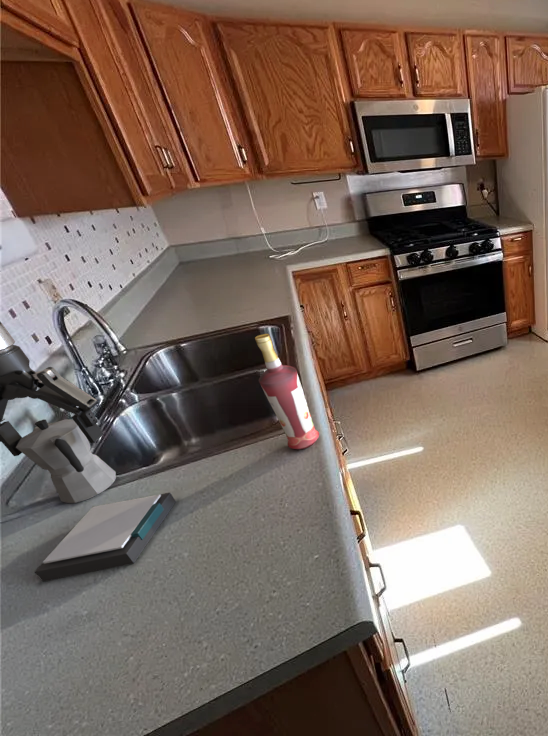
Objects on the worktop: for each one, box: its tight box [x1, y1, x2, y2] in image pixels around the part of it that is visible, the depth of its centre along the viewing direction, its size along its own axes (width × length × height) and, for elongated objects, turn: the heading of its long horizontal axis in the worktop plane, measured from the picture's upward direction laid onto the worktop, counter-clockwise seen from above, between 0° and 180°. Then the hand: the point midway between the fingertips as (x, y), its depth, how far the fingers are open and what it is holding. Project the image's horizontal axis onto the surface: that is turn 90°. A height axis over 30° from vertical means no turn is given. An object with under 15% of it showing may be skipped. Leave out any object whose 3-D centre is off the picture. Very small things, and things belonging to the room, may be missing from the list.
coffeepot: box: [16, 418, 117, 504], centre depth 85 cm, size 15×9×18 cm, turn 59°
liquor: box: [254, 333, 320, 450], centre depth 91 cm, size 7×7×28 cm
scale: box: [33, 492, 177, 582], centre depth 76 cm, size 14×14×3 cm
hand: (60, 445), depth 83 cm, fingers open, 13 cm apart
